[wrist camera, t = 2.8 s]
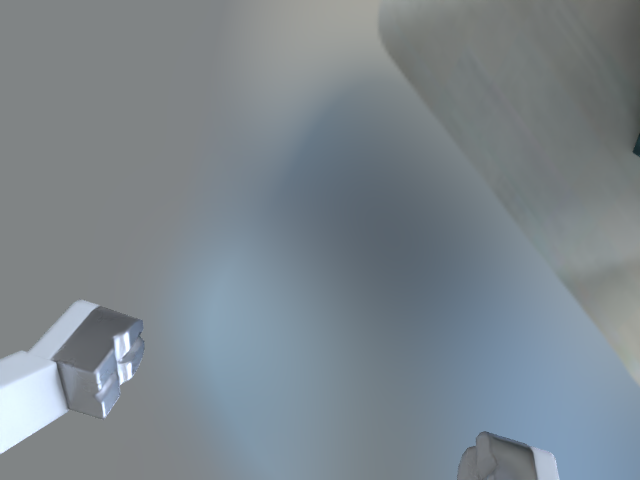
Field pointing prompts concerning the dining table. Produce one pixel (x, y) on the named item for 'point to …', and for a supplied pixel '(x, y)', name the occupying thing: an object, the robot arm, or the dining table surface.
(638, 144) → the plate rack
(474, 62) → the dining table surface
